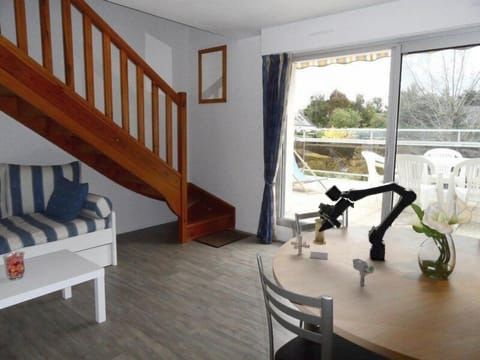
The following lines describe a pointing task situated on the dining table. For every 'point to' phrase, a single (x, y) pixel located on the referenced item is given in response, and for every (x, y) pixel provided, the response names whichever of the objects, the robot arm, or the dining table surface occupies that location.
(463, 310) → the dining table surface
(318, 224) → the brass pedestal cup
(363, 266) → the grey mottled tree figurine
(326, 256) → the mat
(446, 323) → the dining table surface
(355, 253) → the dining table surface
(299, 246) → the pipe connector
